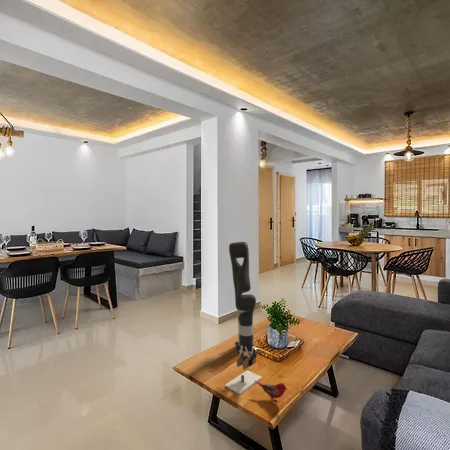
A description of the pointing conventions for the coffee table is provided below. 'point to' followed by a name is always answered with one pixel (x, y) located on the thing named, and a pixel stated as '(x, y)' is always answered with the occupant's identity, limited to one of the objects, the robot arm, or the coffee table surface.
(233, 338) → the coffee table surface
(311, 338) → the coffee table surface
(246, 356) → the slotted block
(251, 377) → the peg board
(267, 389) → the decorative bird figurine
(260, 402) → the coffee table surface
